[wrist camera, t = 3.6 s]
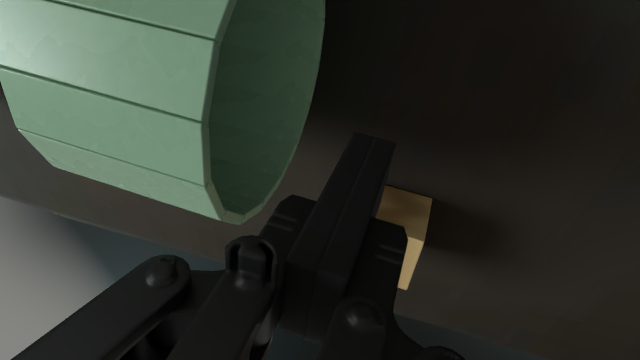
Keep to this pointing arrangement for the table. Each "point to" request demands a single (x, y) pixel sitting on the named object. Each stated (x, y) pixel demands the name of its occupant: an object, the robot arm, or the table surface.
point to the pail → (165, 93)
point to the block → (407, 224)
